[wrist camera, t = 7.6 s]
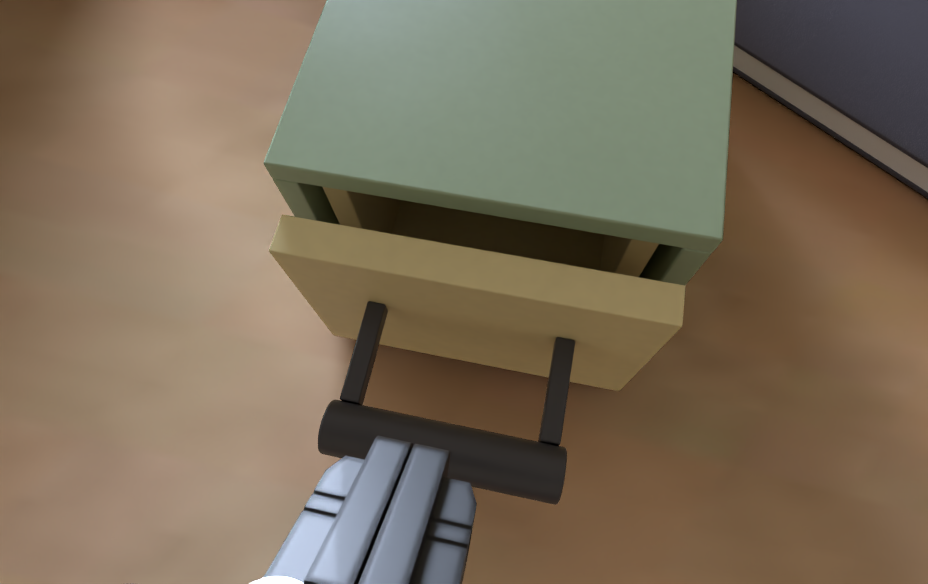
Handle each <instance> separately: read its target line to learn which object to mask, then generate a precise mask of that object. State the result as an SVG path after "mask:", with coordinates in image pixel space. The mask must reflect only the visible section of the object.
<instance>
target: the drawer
mask: <svg viewBox="0 0 928 584" xmlns="http://www.w3.org/2000/svg"><path fill="white" fill-rule="evenodd" d="M323 189H324V191H325V194H326V196H327V198H328V200H329V202H330V204H331V206H332V208H333V211H334V213H335V215H336V217H337V219H338V221H339V223H340V225H338V224H333V223H327V222H321V221H316V220H310V219H304V218H299V217H293V216H287V215H282V216H281V218H280V221H279V224H278V226H277V229H276V232H275V235H274V237H273V240H272V243H271V246H270V249H269V252H270V253H271V254H272V256H273V257H274V258H275V260H276V261H277V262H278V264H279V265H280V266H281V267H282V269H283V270H284V271H285V273H286V274H287V275H288V277H289V278H290V279H291V280H292V282H293V283H294V284H295V286H296V287H297V288H298V290H299V291H300V292H301V293H302V295H303V296H304V297H305V299H306V300H307V301H308V303H309V304H310V305H311V307H312V308H313V309H314V310H315V312H316V313H317V314H318V316H319V317H320V318H321V320H322V321H323V322H324V323H325V325H326V326H327V327H328V329H329V330H330V331H331V333H332V334H333V335H335V336H340V337H345V338H350V339H355V340H356V344H355V347H354V351H353V354H352V358H351V361H350V365H349V368H348V372H347V375H346V379H345V382H344V386H343V389H342V393H341V396H340V399H341V400H342V401H340V400H333V401H331V403H330V404H329V405H328V407H327V409H326V411H325V413H324V415H323V418H322V421H321V425H320V429H319V435H318V449H319V452H320V453H322V454H325V455H330V456H335V457H339V458H343V457H344V456H350V457H355V458H359V459H364V460H365V458H366V456H367V454H368V452H369V450H370V448H371V446H372V444H373V442H374V440H375V438H376V437H377V436H383V437H387V438H392V439H396V440H401V441H406V442H410V443H413V446H414V444H420V445H425V446H429V447H434V448H439V449H443V450H448V451H450V462H449V468H448V475H447V478H450V479H455V480H459V481H464V482H468V483H470V484H471V486H472V487H477V488H481V489H486V490H490V491H495V492H499V493H504V494H509V495H513V496H518V497H522V498H527V499H531V500H536V501H541V502H545V503H550V504H554V505H556V504H558V502H559V500H560V497H561V493H562V489H563V484H564V478H565V471H566V462H567V451H566V448H564V447H561V446H559V445H560V443H561V436H562V429H563V423H564V416H565V409H566V402H567V396H568V389H569V382H574V383H579V384H584V385H589V386H594V387H599V388H604V389H610V390H615V391H620V390H621V389H622V388H623V387H624V386H625V385H626V384H627V383H628V382H629V381H630V380H631V379H632V378H633V377H634V376H635V375H636V374H637V372H638V371H639V370H640V369H641V368H642V367H643V366H644V365H645V364H646V363H647V362H648V361H649V360H650V359H651V358H652V357H653V356H654V355H655V354H656V353H657V352H658V351H659V350H660V349H661V348H662V347H663V346H664V345H665V344H666V343H667V342H668V341H669V339H670V338H671V337H672V336H673V335H674V334H675V333H676V332H677V331H678V330H679V329H680V328H681V327H682V324H683V312H684V300H685V288H686V287H685V286H684V285H679V284H674V283H668V282H662V281H657V280H651V279H645V278H640V277H639V276H640V274H641V273H642V271H643V269H644V268H645V266H646V264H647V263H648V261H649V259H650V258H651V256H652V255H653V253H654V251H655V250H656V248H657V246H658V245H659V244H658V243H652V242H646V241H640V240H634V239H628V238H622V237H616V236H610V235H605V234H599V233H593V232H587V231H581V230H575V229H569V228H563V227H557V226H552V225H546V224H540V223H534V222H528V221H522V220H516V219H510V218H504V217H498V216H493V215H487V214H481V213H475V212H469V211H463V210H457V209H451V208H445V207H439V206H434V205H428V204H422V203H416V202H410V201H404V200H398V199H392V198H386V197H381V196H375V195H369V194H363V193H357V192H351V191H345V190H339V189H333V188H327V187H323ZM379 344H380V345H385V346H391V347H396V348H401V349H406V350H411V351H416V352H421V353H426V354H431V355H436V356H441V357H447V358H452V359H457V360H462V361H467V362H472V363H477V364H482V365H487V366H492V367H498V368H503V369H508V370H513V371H518V372H523V373H528V374H533V375H538V376H543V377H548V384H547V391H546V397H545V403H544V409H543V415H542V421H541V428H540V434H539V440H538V442H537V441H532V440H527V439H522V438H518V437H513V436H508V435H503V434H498V433H494V432H489V431H484V430H479V429H474V428H470V427H465V426H460V425H455V424H450V423H446V422H441V421H436V420H431V419H426V418H422V417H417V416H412V415H407V414H402V413H397V412H393V411H388V410H383V409H378V408H373V407H369V406H364V405H363V401H364V398H365V394H366V390H367V387H368V383H369V379H370V375H371V372H372V368H373V364H374V361H375V357H376V353H377V350H378V346H379Z"/></svg>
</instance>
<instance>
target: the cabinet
mask: <svg viewBox="0 0 928 584" xmlns="http://www.w3.org/2000/svg"><path fill="white" fill-rule="evenodd" d="M736 8H737V0H327V1H326V4H325V6H324V9H323V11H322V14H321V16H320V19H319V22H318V24H317V27H316V29H315V32H314V34H313V37H312V40H311V42H310V45H309V47H308V50H307V52H306V55H305V58H304V60H303V63H302V65H301V68H300V70H299V73H298V75H297V78H296V81H295V83H294V86H293V88H292V91H291V93H290V96H289V99H288V101H287V104H286V106H285V109H284V111H283V114H282V117H281V119H280V122H279V124H278V127H277V129H276V132H275V135H274V137H273V140H272V142H271V145H270V147H269V150H268V152H267V155H266V158H265V160H264V165H265V167H266V169H267V170H268V172H269V174H270V175H271V177H272V178H273V181H274V182H275V184H276V186H277V187H278V189H279V191H280V192H281V194H282V196H283V197H284V199H285V201H286V202H287V204H288V206H289V207H290V209H291V211H292V212H293V214H294V216H295V217H299V218H304V219H310V220H316V221H321V222H327V223H333V224H338V225H340V223H339V221H338V219H337V217H336V215H335V213H334V211H333V208H332V206H331V204H330V202H329V200H328V198H327V196H326V194H325V191H324V189H323V187H327V188H333V189H339V190H345V191H351V192H357V193H363V194H369V195H375V196H381V197H386V198H392V199H398V200H404V201H410V202H416V203H422V204H428V205H434V206H439V207H445V208H451V209H457V210H463V211H469V212H475V213H481V214H487V215H493V216H498V217H504V218H510V219H516V220H522V221H528V222H534V223H540V224H546V225H552V226H557V227H563V228H569V229H575V230H581V231H587V232H593V233H599V234H605V235H610V236H616V237H622V238H628V239H634V240H640V241H646V242H652V243H658V244H659V245H658V246H657V248H656V250H655V251H654V253H653V255H652V256H651V258H650V259H649V261H648V263H647V264H646V266H645V268H644V269H643V271H642V273H641V274H640V276H639V277H640V278H645V279H651V280H657V281H662V282H668V283H674V284H679V285H684V286H685V285H686V284H687V283H688V281H689V280H690V279H691V278H692V277H693V275H694V274H695V273H696V272H697V270H698V269H699V268H700V267H701V266H702V264H703V263H704V262H705V261H706V259H707V258H708V257H709V256H710V255H711V253H712V252H713V251H714V250H715V249H716V248H717V246H718V245H719V244H720V243H721V242H722V240H723V230H724V213H725V196H726V179H727V162H728V145H729V128H730V111H731V93H732V76H733V59H734V42H735V25H736Z"/></svg>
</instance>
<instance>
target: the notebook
mask: <svg viewBox="0 0 928 584" xmlns="http://www.w3.org/2000/svg"><path fill="white" fill-rule="evenodd" d="M733 72H734V73H736V74H738V75H739V76H741V77H742V78H744V79H745V80H747V81H748V82H750V83H751V84H753V85H754V86H756V87H758V88H759V89H761V90H762V91H764V92H765V93H767V94H768V95H770V96H771V97H773V98H774V99H776V100H777V101H779V102H781V103H782V104H784V105H785V106H787V107H788V108H790V109H791V110H793V111H794V112H796V113H797V114H799V115H800V116H802V117H804V118H805V119H807V120H808V121H810V122H811V123H813V124H814V125H816V126H817V127H819V128H820V129H822V130H824V131H825V132H827V133H828V134H830V135H831V136H833V137H834V138H836V139H837V140H839V141H840V142H842V143H843V144H845V145H847V146H848V147H850V148H851V149H853V150H854V151H856V152H857V153H859V154H860V155H862V156H863V157H865V158H866V159H868V160H870V161H871V162H873V163H874V164H876V165H877V166H879V167H880V168H882V169H883V170H885V171H886V172H888V173H890V174H891V175H893V176H894V177H896V178H897V179H899V180H900V181H902V182H903V183H905V184H906V185H908V186H909V187H911V188H913V189H914V190H916V191H917V192H919V193H920V194H922V195H923V196H925V197H926V198H928V0H737V8H736V25H735V42H734V59H733Z"/></svg>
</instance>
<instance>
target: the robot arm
mask: <svg viewBox="0 0 928 584" xmlns="http://www.w3.org/2000/svg"><path fill="white" fill-rule="evenodd" d="M449 462H450V451H448V450H443V449H439V448H434V447H429V446H425V445H420V444H414V446H413V443H410V442H406V441H401V440H396V439H392V438H387V437H383V436H377V437H376V438H375V440H374V442H373V444H372V446H371V448H370V450H369V452H368V454H367V456H366V458H365V460H364V459H359V458H355V457H350V456H344V457H343V458H342V459H340V460H339V461H338V462H336V463H335V464H334V465H332V466H331V467H330V468H328V469H327V470H326V471H325V473H324V474H323V476H322V478H321V479H320V481H319V483H318V485H317V486H316V488H315V490H314V493H313V494H312V495H311V497H310V498H309V500H308V502H307V504H306V505H305V508H304V511H302V512H301V514H300V516H299V517H298V519H297V521H296V523H295V524H294V526H293V528H292V529H291V531H290V533H289V535H288V536H287V538H286V540H285V541H284V543H283V545H282V547H281V548H280V550H279V552H278V554H277V555H276V557H275V559H274V560H273V562H272V564H271V566H270V567H269V569H268V571H267V572H266V574H265V575H264V577H263V578H262V579H260V580H257V581H254V582H252V583H250V584H462V581H463V576H464V571H465V566H466V562H467V556H468V550H469V545H470V539H471V534H472V528H473V522H474V517H475V511H476V505H477V503H476V500H475V497H474V494H473V490H472V487H471V484H470V483H468V482H464V481H459V480H455V479H450V478H447V475H448V468H449Z"/></svg>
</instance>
